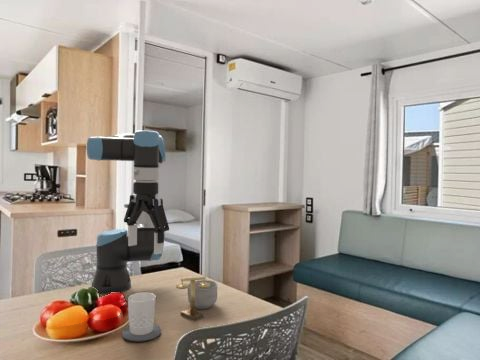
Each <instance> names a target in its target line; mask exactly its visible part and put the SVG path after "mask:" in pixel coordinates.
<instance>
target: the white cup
mask: <svg viewBox="0 0 480 360" xmlns="http://www.w3.org/2000/svg"><path fill="white" fill-rule="evenodd" d="M156 296H157V295H156V294H154V293H152V292H148V291H146V292H145V291H144V292H143V291H142V292H135V293H132V294H130V295H129V296H128V298H127V306H128V307H127V310H128V323H129V327H130V333H131V334H134V335H145V334H148V333H150V332H152V331H153V323H154V321H155V311H156V299H157V297H156ZM154 324H155V323H154Z"/></svg>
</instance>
